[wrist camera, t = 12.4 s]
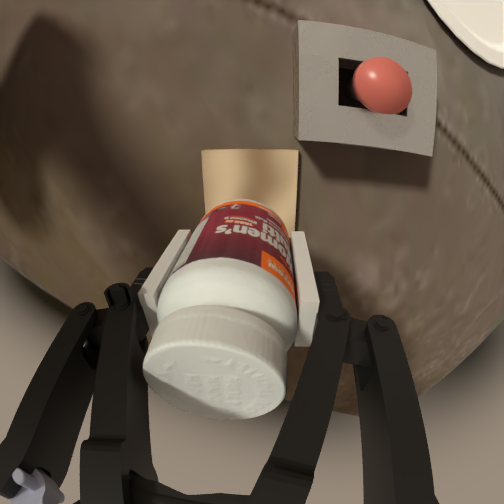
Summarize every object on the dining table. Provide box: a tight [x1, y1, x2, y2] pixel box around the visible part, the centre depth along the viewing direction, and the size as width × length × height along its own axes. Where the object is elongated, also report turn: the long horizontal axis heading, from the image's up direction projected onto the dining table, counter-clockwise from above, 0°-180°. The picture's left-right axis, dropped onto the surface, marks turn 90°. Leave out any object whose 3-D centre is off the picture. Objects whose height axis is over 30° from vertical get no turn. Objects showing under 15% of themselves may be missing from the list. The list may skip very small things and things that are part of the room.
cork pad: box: [202, 149, 298, 238], centre depth 27 cm, size 9×9×1 cm
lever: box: [347, 57, 412, 114], centre depth 17 cm, size 4×4×6 cm
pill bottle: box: [143, 199, 298, 420], centre depth 13 cm, size 6×6×11 cm
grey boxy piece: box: [293, 20, 437, 157], centre depth 19 cm, size 12×10×5 cm
